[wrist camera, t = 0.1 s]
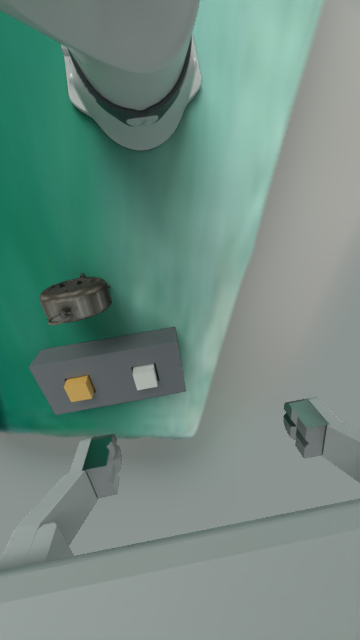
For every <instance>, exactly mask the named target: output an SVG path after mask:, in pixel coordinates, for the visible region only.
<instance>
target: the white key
mask: <svg viewBox="0 0 360 640" xmlns="http://www.w3.org/2000/svg"><path fill="white" fill-rule="evenodd" d="M133 378H134V381H135V384H136V388H137V390H142V389H148V388H153V387H158V382H157V374H156V369H155V365H154V363H152V364H147V365H141V366H135V367H133Z"/></svg>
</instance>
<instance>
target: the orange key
mask: <svg viewBox="0 0 360 640" xmlns="http://www.w3.org/2000/svg"><path fill="white" fill-rule="evenodd" d="M64 389H65V391H66V393H67V395H68V397H69V399H70V401H71V402H76V401H81V400H87V399H92V397H93V394H94V390H95V388H94V385H93V383H92V380H91V378H90V376H89V375H84V376H79V377H73V378H67V381H66V383H65V385H64Z"/></svg>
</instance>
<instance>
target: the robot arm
mask: <svg viewBox="0 0 360 640" xmlns="http://www.w3.org/2000/svg"><path fill="white" fill-rule="evenodd" d="M199 2H200V0H0V11H2V12H4V13H6V14H8V15H9V16H11V17H13V18H15V19H17V20H19V21H21V22H23V23H24V24H26V25H28V26H30V27H32V28H33V29H35V30H37V31H39V32H41V33H42V34H44V35H46V36H48V37H49V38H51V39H53V40H55V41H56V42H58V43H60V44H61V47H62V51H63V54H64V58H65V67H66V75H67V84H68V93H69V97H70V100H71V102H72V103H73V105H74V106H75V107H76V108H77V109H79V110H80V111H82V112H83V113H85V114H87V115H88V116H90V117H92V118H93V119H94V120H95V121H96V123H97V124H98V125H99V126H100V127H101V129H102V130H103V131H104V132H105V133H106V134H107V135H108V136H109V137H110V138H111V139H112V140H114V141H115V142H116V143H118V144H120V145H121V146H124V147H126V148H129V149H133V150H149V149H153V148H155V147H157V146H159V145H161V144H162V143H164V142H165V141H166V140H167V139H168V138H169V137H170V136H171V135H172V134H173V133H174V131H175V130H176V128H177V126H178V124H179V122H180V120H181V118H182V115H183V112H184V110H185V108H186V106H187V104H188V103H189V102H190V101H191V100H192V99H193V98H194V96H195V95H196V94H197V93H198V91H199V89H200V86H201V74H200V69H199V64H198V59H197V54H196V50H195V45H194V40H193V35H192V32H193V28H194V25H195V21H196V17H197V12H198V8H199ZM284 410H285V411H286V414H285V415H284V425H285V428H286V430H287V433H288V434H289V436H290V437H291V438H293V439H294V440H296V443H295V445H296V447H297V449H298V450H299V452H300V453H301V455H302V456H303V458H308V457H315V456H321V455H323V457H324V458H326V459H327V460H328V461H330V462H331V463H333V464H334V465H335V466H337V467H338V468H340V469H341V470H342V471H344V472H345V473H347V474H348V475H349V476H351V477H352V478H354V479H355V480H356V481H358V482H359V483H360V429H359V428H357V427H355V426H353V425H351V424H349V423H346V422H341V421H340V420H339V419H338V418H337V417H336V416H335V415H334V414H333V413H332V412H331V410H330V409H329V408H328V407H327V406H326V405H325V404H324V403H323V402H322V401H321V400H320V399H319V398H318V397H312V398H307V399H302V400H296V401H291V402H286V403H285V404H284ZM116 443H117V438H116V435H115V434H111V435H105V436H98V437H93V438H87V439H82V440H81V441H80V443H79V445H78V448H77V451H76V454H75V457H74V460H73V463H72V466H71V468H70V471H69V474H65V475H64V476H63V477H62V478H61V479H60V481H59V482H58V483H57V484H56V485H55V486H54V487H53V488H52V489H51V490H50V491H49V492H48V493H47V494H46V496H45V497H44V498H43V499H42V500H41V501H40V502H39V503H38V504H37V505H36V506H35V507H34V508H33V510H32V511H31V512H30V513H29V514H28V515H27V516H26V517H25V518H24V519H23V520H22V521H21V522H20V523H19V525H18V526H17V527H16V528H15V529H14V531H13V533H12V535H11V537H10V540H9V542H8V544H7V546H6V548H5V551H4V553H3V555H2V557H1V559H0V640H360V499H356V500H350V501H346V502H341V503H335V504H330V505H325V506H320V507H316V508H311V509H306V510H301V511H296V512H291V513H286V514H281V515H276V516H271V517H266V518H261V519H256V520H251V521H246V522H241V523H236V524H231V525H226V526H221V527H217V528H211V529H207V530H201V531H196V532H192V533H187V534H182V535H177V536H172V537H167V538H162V539H157V540H152V541H147V542H142V543H137V544H132V545H127V546H122V547H117V548H112V549H107V550H102V551H97V552H92V553H87V554H82V555H77V556H74V555H73V553H72V551H71V549H70V548H69V545H70V543H71V542H72V540H73V539H74V537H75V535H76V534H77V532H78V530H79V529H80V527H81V526H82V524H83V523H84V521H85V519H86V518H87V516H88V515H89V513H90V511H91V510H92V508H93V507H94V505H95V503H96V502H97V500H98V498H102V497H106V496H111V495H115V494H117V493H118V486H119V476H118V472H119V471H120V469H121V464H122V455H121V450H120V447H119V446H118V445H116Z"/></svg>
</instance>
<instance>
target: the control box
mask: <svg viewBox="0 0 360 640" xmlns="http://www.w3.org/2000/svg"><path fill="white" fill-rule="evenodd" d="M152 363H155V364H156V368H157V372H158V375H157V382H158V387H153V388H148V389H142V390H137V388H136V384H135V381H134V378H133V369H132V367H135V366H141V365H147V364H152ZM29 369H30V370H31V372H32V374H33V376H34V377H35V379H36V381H37V383H38V385H39V386H40V388H41V390H42V392H43V393H44V395H45V397H46V399H47V401H48V402H49V404H50V406H51V408H52V409H53V411H54V413H55V415H58V414H64V413H69V412H75V411H80V410H86V409H91V408H97V407H102V406H108V405H113V404H119V403H124V402H130V401H135V400H141V399H146V398H152V397H157V396H163V395H168V394H174V393H179V392H185V391H186V389H185V383H184V377H183V371H182V365H181V358H180V352H179V346H178V340H177V335H176V330H175V327H171V328H165V329H160V330H154V331H148V332H142V333H136V334H130V335H124V336H119V337H113V338H107V339H101V340H95V341H89V342H84V343H78V344H72V345H66V346H60V347H54V348H48V349H43V350H40V352H39V353H38V355H37V356H36V358H35V359H34V360H33V362H32V363H31V365H30V366H29ZM84 375H89V376H90V378H91V380H92V383H93V385H94V388H95V390H94V394H93V397H92V399H87V400H81V401H76V402H71V401H70V399H69V397H68V395H67V393H66V391H65V389H64V385H65V383H66V381H67V378H73V377H79V376H84Z"/></svg>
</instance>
